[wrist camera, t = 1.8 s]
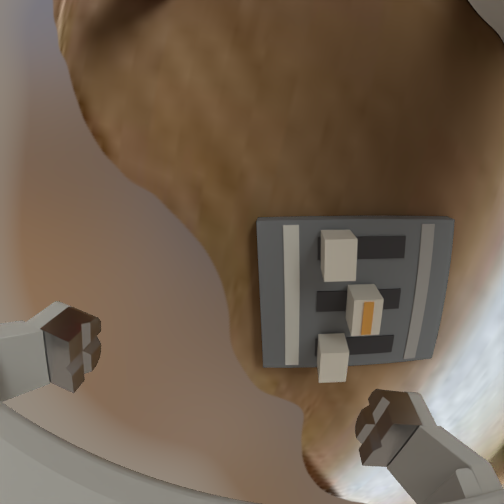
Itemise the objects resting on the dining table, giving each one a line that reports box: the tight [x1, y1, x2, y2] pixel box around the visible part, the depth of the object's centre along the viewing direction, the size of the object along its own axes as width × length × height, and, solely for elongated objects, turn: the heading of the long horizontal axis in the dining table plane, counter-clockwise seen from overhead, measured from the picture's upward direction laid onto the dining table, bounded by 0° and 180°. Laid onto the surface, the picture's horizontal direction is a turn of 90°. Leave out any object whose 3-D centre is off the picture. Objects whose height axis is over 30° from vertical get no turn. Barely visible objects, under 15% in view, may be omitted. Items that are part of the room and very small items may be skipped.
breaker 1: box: [321, 230, 358, 282], centre depth 30 cm, size 3×4×4 cm
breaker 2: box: [317, 333, 349, 383], centre depth 34 cm, size 3×4×4 cm
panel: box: [256, 216, 455, 368], centre depth 35 cm, size 22×18×2 cm
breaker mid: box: [346, 284, 384, 336], centre depth 32 cm, size 3×4×4 cm
